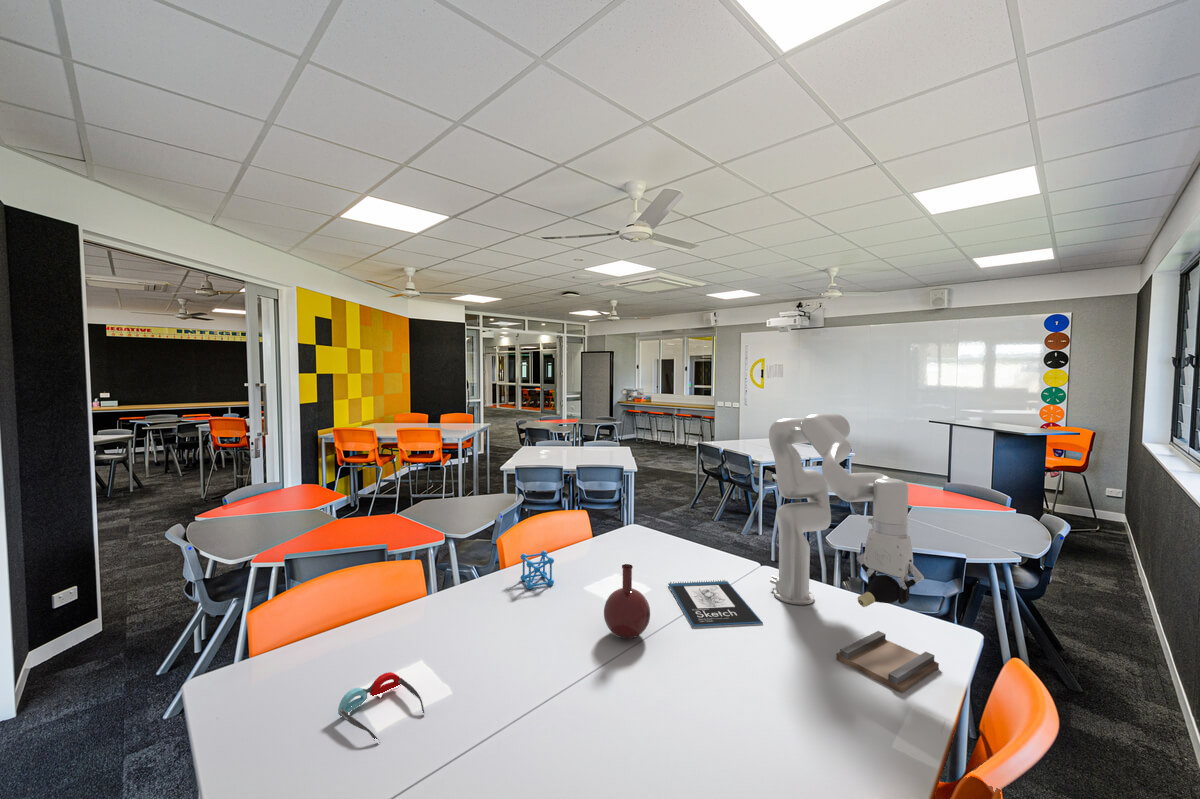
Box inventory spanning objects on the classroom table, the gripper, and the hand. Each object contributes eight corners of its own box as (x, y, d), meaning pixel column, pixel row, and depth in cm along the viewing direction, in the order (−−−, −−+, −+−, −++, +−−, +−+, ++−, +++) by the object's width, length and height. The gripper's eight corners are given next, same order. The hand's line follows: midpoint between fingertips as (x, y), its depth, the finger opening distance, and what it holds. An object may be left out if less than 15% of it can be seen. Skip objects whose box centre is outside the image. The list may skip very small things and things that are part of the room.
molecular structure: (519, 580, 174) (519, 553, 174) (545, 575, 178) (545, 549, 178) (527, 591, 165) (527, 562, 165) (555, 586, 169) (555, 558, 169)
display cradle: (836, 659, 125) (836, 647, 125) (874, 639, 134) (874, 629, 134) (901, 693, 111) (901, 680, 111) (938, 668, 121) (938, 657, 121)
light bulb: (860, 586, 117) (894, 568, 121) (844, 591, 123) (877, 574, 127) (877, 614, 114) (912, 594, 118) (860, 618, 120) (893, 599, 124)
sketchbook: (692, 630, 140) (692, 623, 140) (667, 586, 170) (667, 581, 170) (763, 626, 143) (763, 619, 143) (726, 583, 172) (726, 578, 172)
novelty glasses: (396, 686, 114) (396, 666, 113) (432, 713, 104) (432, 691, 104) (334, 719, 103) (334, 696, 102) (369, 752, 93) (369, 727, 93)
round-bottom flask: (595, 640, 133) (595, 569, 133) (616, 620, 145) (616, 554, 144) (639, 653, 127) (639, 579, 126) (656, 630, 139) (657, 562, 138)
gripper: (848, 521, 127) (846, 587, 128) (919, 539, 112) (917, 614, 113) (864, 517, 131) (862, 581, 132) (935, 534, 116) (932, 607, 117)
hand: (887, 596), depth 122 cm, fingers closed on light bulb, 6 cm apart
